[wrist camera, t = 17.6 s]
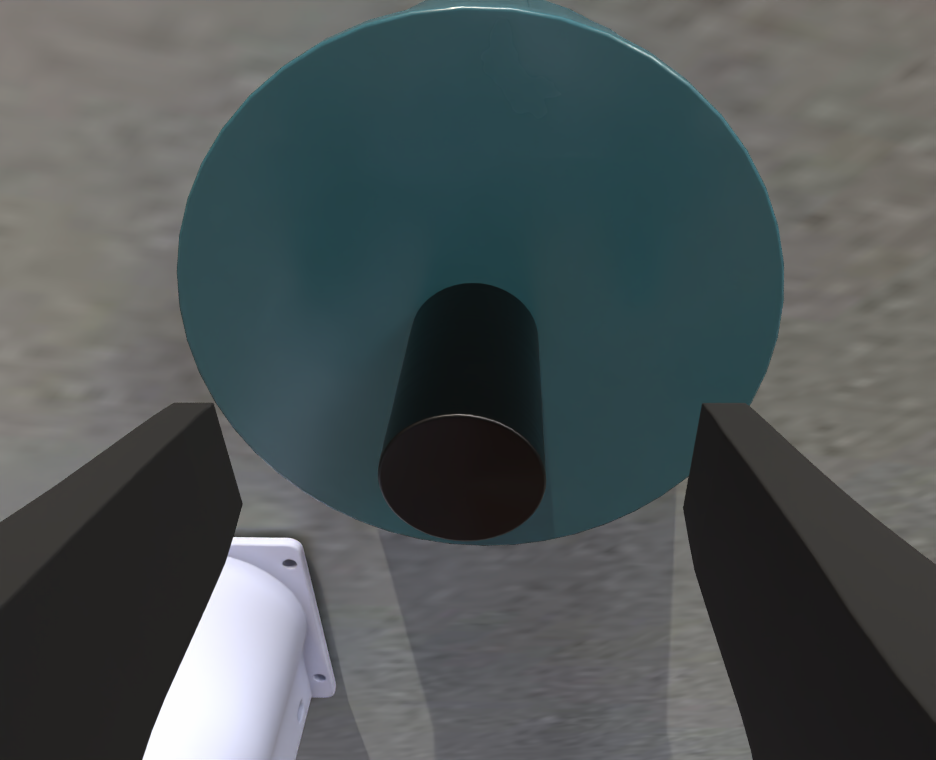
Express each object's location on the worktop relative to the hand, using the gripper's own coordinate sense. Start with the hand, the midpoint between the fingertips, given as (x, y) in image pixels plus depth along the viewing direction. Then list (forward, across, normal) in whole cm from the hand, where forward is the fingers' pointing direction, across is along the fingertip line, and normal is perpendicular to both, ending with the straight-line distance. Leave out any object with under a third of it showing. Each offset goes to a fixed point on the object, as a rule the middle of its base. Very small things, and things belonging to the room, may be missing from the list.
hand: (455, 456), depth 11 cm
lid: (+4, 0, 0) cm, 4 cm away
